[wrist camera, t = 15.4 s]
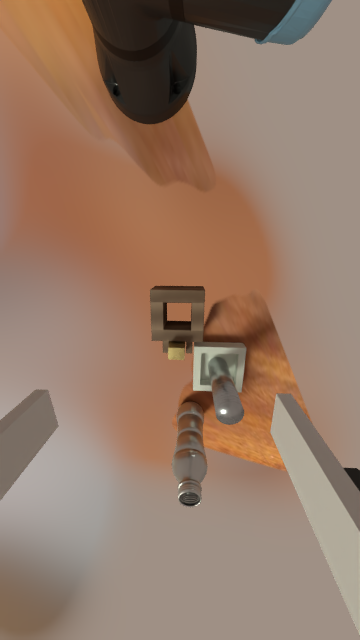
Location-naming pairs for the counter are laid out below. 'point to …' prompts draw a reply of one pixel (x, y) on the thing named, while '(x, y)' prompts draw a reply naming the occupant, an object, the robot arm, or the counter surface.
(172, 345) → the brass block
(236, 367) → the tray
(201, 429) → the plastic bottle
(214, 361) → the grey metal peg
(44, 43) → the counter surface
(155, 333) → the socket block
